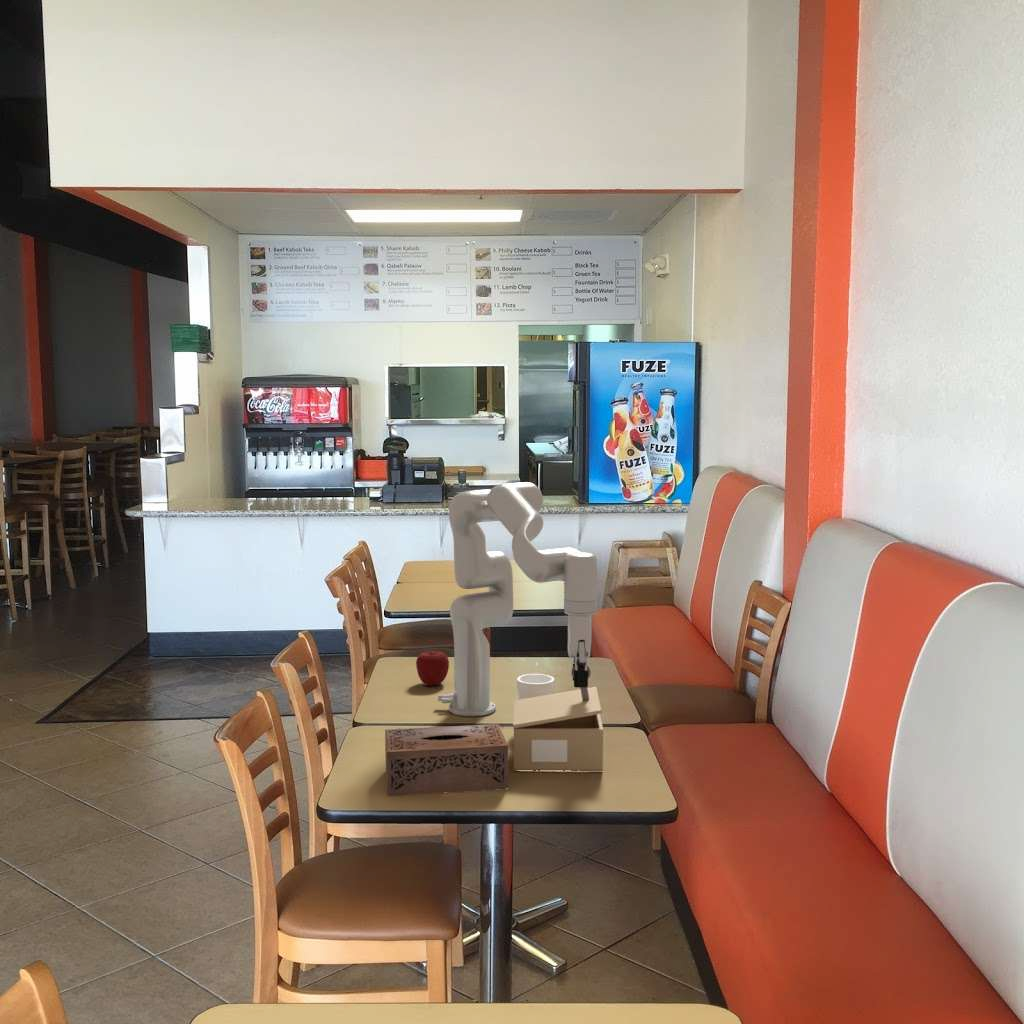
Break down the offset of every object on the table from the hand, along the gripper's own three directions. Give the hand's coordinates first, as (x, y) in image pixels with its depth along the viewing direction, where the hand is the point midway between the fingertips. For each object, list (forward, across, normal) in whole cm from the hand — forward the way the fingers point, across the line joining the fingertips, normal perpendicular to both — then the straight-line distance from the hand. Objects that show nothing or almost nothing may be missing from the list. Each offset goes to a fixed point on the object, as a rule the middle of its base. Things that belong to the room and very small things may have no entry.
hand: (580, 683), depth 236 cm
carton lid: (+6, 0, -5) cm, 8 cm away
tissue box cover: (+19, +14, -30) cm, 38 cm away
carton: (+18, 0, -5) cm, 19 cm away
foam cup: (+18, -21, -10) cm, 30 cm away
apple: (+18, -61, -40) cm, 75 cm away
